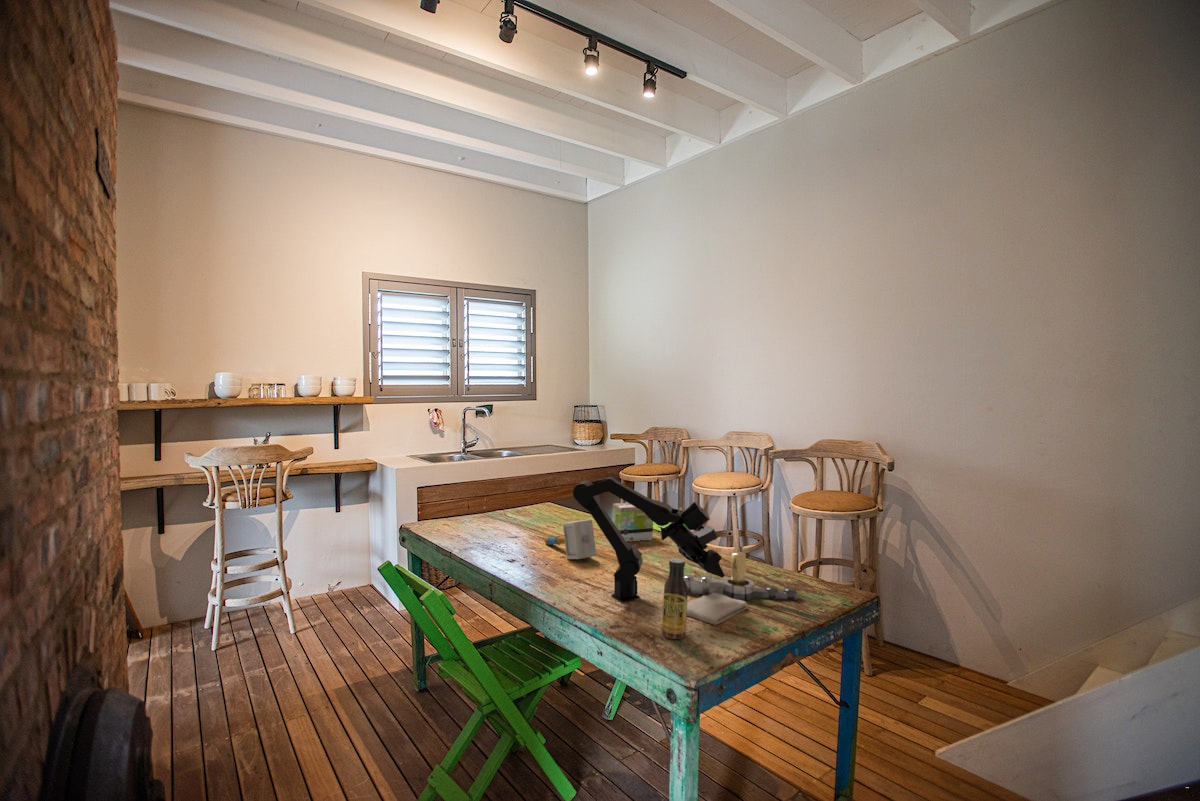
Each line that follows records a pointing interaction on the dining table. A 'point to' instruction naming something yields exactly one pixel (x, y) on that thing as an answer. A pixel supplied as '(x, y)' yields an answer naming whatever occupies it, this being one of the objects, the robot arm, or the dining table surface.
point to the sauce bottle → (675, 601)
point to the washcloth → (714, 608)
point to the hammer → (576, 539)
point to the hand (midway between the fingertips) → (716, 571)
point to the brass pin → (738, 568)
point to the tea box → (632, 522)
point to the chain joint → (736, 589)
